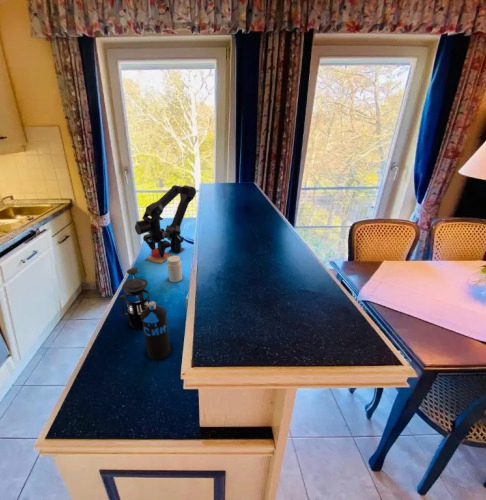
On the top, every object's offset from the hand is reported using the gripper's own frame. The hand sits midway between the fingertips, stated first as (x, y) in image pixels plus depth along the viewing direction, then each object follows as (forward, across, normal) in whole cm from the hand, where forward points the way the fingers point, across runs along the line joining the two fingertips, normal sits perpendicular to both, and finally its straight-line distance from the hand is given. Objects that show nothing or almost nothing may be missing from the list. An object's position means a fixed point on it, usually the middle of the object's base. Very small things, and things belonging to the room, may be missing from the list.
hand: (158, 255), depth 156 cm
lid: (-2, 0, 0) cm, 2 cm away
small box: (+2, -52, +17) cm, 55 cm away
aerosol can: (+2, -57, +39) cm, 69 cm away
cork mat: (+2, 0, 0) cm, 2 cm away
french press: (+2, -39, +35) cm, 53 cm away
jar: (+2, -24, +7) cm, 25 cm away
